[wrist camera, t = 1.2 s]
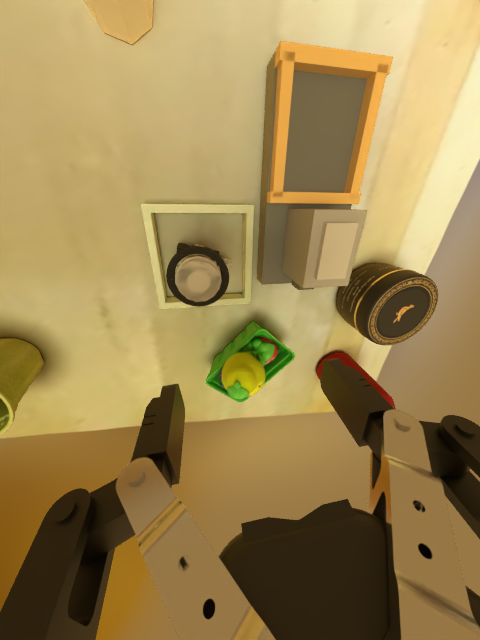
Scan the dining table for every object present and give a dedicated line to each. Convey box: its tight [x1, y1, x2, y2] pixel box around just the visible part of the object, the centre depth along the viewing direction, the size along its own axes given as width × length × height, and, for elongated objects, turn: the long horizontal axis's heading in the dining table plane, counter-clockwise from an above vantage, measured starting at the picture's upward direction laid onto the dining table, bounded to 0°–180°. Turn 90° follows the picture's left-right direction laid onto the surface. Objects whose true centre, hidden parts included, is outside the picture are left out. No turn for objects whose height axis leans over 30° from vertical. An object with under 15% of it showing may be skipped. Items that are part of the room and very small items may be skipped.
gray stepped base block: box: [257, 41, 393, 290], centre depth 22 cm, size 10×20×9 cm, turn 179°
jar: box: [337, 264, 438, 345], centre depth 30 cm, size 10×10×8 cm
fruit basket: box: [206, 321, 295, 402], centre depth 29 cm, size 11×9×11 cm
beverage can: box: [317, 353, 396, 410], centre depth 35 cm, size 7×7×12 cm
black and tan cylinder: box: [166, 243, 232, 307], centre depth 22 cm, size 7×5×10 cm
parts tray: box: [141, 204, 254, 309], centre depth 26 cm, size 12×12×2 cm
